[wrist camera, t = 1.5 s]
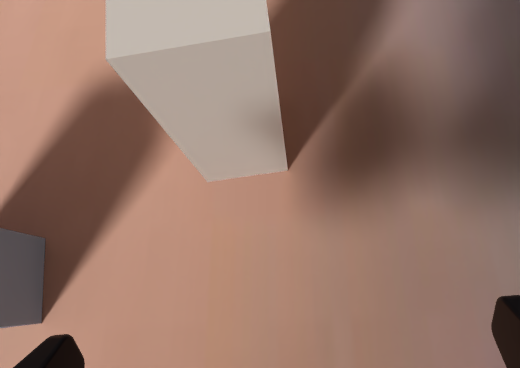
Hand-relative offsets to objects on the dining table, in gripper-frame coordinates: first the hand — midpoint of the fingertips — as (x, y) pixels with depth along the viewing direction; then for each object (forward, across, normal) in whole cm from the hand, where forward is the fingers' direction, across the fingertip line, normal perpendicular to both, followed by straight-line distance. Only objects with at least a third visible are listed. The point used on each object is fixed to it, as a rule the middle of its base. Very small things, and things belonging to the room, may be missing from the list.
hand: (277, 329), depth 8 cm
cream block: (+17, +2, +2) cm, 17 cm away
